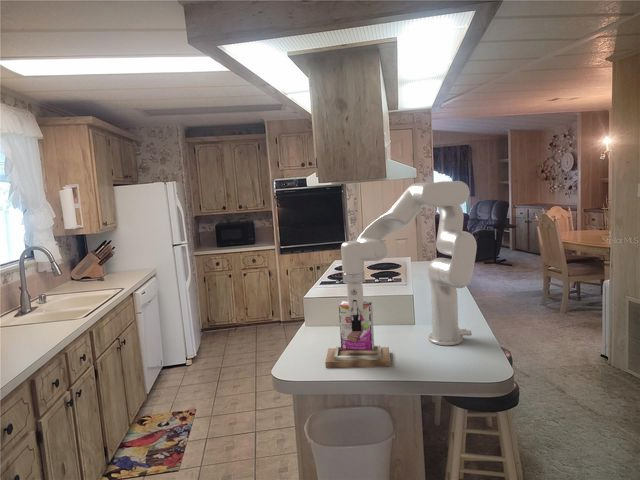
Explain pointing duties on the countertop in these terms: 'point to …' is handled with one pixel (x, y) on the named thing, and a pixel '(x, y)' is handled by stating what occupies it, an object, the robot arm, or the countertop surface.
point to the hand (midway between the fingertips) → (356, 327)
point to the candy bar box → (356, 338)
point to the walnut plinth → (358, 357)
